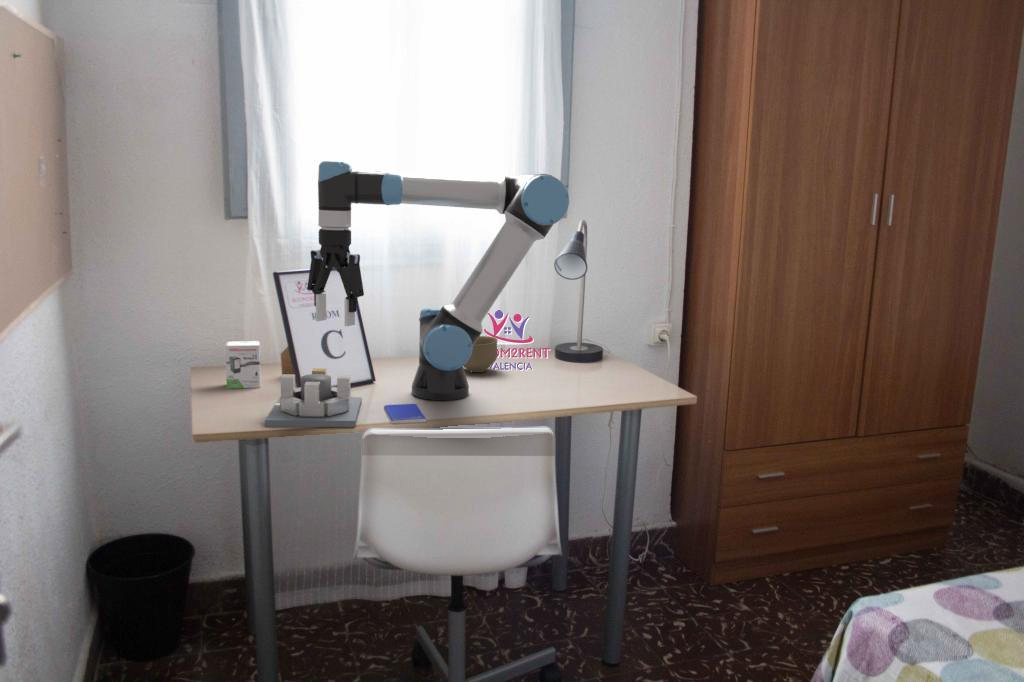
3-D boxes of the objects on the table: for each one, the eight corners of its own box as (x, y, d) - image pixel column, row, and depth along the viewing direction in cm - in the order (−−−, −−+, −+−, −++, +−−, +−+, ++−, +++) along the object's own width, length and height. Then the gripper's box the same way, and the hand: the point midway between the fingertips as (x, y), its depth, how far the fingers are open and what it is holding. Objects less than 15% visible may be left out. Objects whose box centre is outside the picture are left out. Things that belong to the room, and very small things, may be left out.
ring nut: (352, 398, 204) (352, 369, 202) (346, 416, 189) (346, 385, 187) (287, 397, 202) (287, 368, 201) (276, 416, 187) (275, 384, 185)
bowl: (453, 366, 250) (454, 334, 248) (495, 367, 251) (496, 335, 249) (454, 376, 237) (455, 342, 235) (498, 377, 239) (499, 343, 237)
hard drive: (426, 417, 193) (416, 403, 205) (392, 419, 191) (384, 404, 202) (426, 423, 194) (416, 409, 205) (391, 425, 191) (383, 410, 203)
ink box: (226, 389, 214) (225, 345, 212) (227, 384, 219) (226, 341, 216) (260, 388, 217) (259, 344, 214) (260, 383, 221) (259, 340, 219)
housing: (361, 402, 207) (361, 368, 205) (355, 427, 187) (355, 389, 185) (280, 402, 204) (279, 367, 203) (265, 426, 185) (264, 388, 183)
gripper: (380, 231, 190) (379, 326, 195) (313, 224, 201) (314, 315, 205) (358, 232, 184) (357, 330, 188) (290, 225, 195) (291, 319, 199)
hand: (335, 322), depth 197 cm, fingers open, 9 cm apart
